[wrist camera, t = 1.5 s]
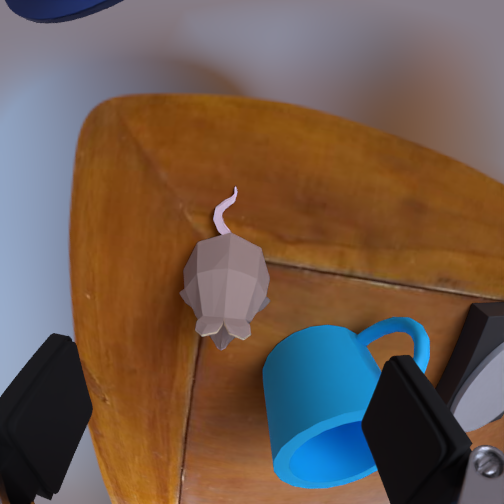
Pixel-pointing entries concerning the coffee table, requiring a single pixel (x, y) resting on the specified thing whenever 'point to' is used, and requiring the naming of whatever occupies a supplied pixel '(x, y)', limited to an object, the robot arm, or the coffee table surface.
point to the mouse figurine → (225, 283)
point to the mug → (327, 400)
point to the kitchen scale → (477, 369)
